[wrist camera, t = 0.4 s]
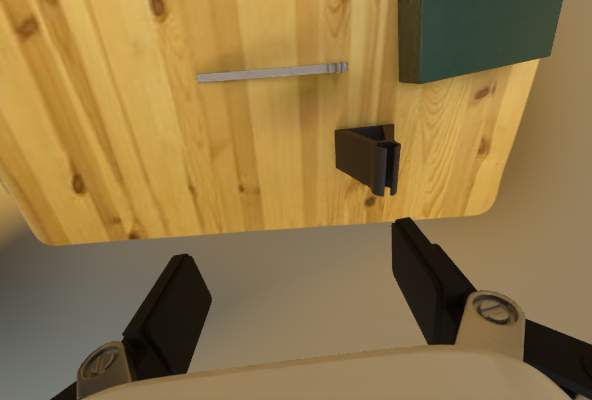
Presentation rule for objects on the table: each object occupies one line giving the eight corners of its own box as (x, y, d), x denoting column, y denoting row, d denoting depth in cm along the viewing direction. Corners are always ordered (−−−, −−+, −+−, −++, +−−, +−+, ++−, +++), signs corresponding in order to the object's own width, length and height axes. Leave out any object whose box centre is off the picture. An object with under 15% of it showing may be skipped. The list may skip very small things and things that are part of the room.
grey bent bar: (343, 62, 34) (353, 60, 29) (343, 71, 35) (352, 71, 29) (196, 74, 35) (178, 74, 29) (198, 83, 35) (180, 85, 30)
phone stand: (393, 123, 38) (432, 143, 27) (390, 161, 41) (425, 192, 30) (334, 129, 38) (350, 152, 28) (335, 166, 41) (350, 199, 31)
